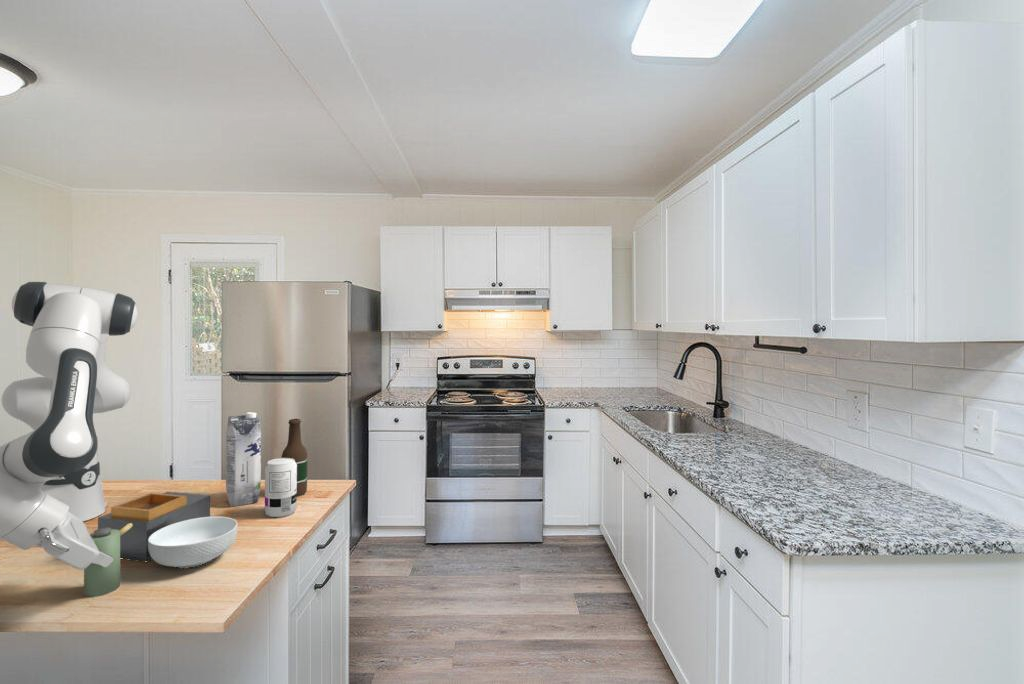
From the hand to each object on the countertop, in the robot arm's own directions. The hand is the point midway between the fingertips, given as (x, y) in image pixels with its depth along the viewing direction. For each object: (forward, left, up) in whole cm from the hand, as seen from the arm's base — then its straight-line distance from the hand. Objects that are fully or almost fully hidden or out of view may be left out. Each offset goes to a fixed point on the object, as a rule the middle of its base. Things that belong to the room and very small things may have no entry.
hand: (106, 556), depth 96 cm
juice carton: (-8, +48, -7) cm, 50 cm away
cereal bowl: (+8, +14, -7) cm, 17 cm away
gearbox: (-10, +19, -6) cm, 23 cm away
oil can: (0, 0, -6) cm, 6 cm away
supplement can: (+9, +42, -7) cm, 44 cm away
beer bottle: (+3, +57, -7) cm, 58 cm away
